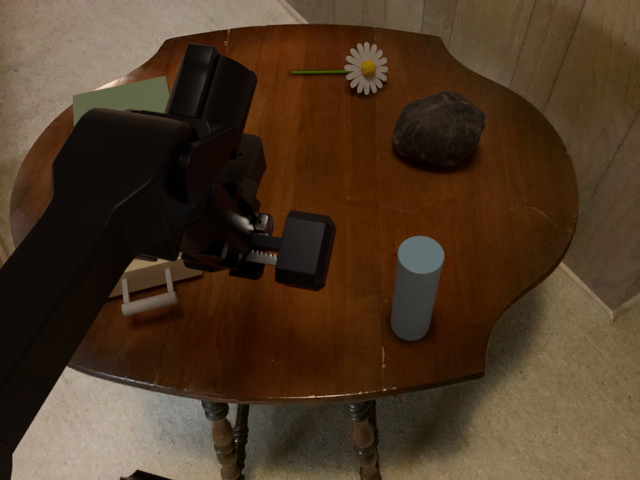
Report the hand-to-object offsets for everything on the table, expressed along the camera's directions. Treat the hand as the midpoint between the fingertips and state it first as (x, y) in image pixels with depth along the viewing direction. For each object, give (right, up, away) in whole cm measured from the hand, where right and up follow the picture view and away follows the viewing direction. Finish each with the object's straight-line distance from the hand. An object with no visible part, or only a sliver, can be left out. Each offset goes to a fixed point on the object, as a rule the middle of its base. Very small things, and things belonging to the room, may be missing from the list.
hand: (248, 258), depth 59 cm
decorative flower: (+10, +26, +34) cm, 44 cm away
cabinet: (-19, +14, +27) cm, 36 cm away
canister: (+17, -8, +9) cm, 21 cm away
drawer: (-15, +1, +16) cm, 21 cm away
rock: (+23, +14, +25) cm, 37 cm away
